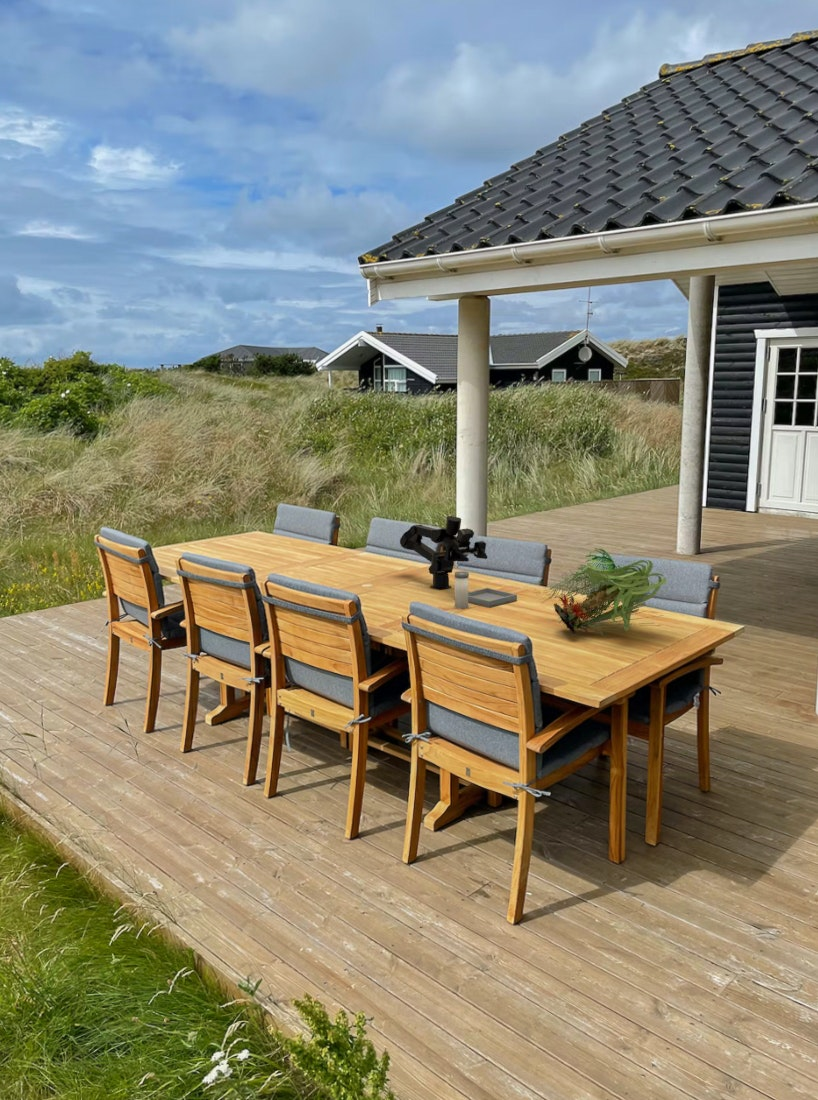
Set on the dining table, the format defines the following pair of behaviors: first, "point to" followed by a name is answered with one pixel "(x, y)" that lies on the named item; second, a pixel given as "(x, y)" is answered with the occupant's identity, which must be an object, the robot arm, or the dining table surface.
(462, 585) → the shaker
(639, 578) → the plant
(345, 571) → the dining table surface
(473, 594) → the tray
